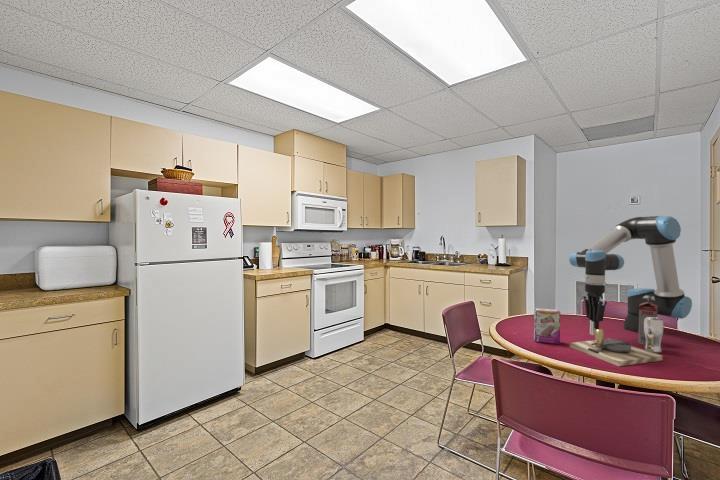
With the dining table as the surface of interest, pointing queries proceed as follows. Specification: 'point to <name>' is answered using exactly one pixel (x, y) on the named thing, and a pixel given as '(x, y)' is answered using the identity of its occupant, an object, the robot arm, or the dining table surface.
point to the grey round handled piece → (610, 343)
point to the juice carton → (645, 311)
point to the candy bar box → (547, 326)
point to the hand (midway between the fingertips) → (594, 334)
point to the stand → (617, 354)
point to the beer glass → (653, 334)
